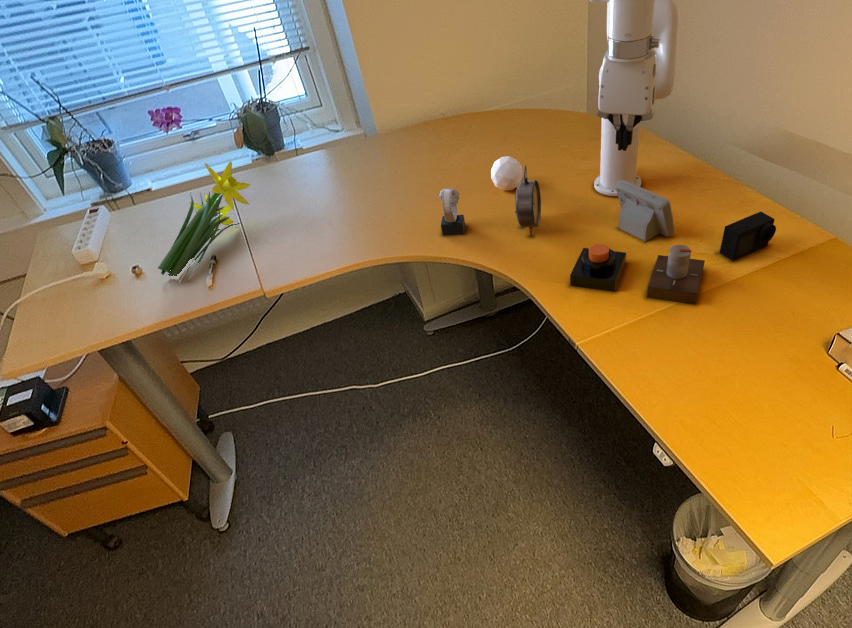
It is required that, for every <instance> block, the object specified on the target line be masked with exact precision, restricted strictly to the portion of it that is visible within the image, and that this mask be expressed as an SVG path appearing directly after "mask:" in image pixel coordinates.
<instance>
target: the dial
mask: <svg viewBox="0 0 852 628" xmlns="http://www.w3.org/2000/svg"><path fill="white" fill-rule="evenodd" d="M667 256H668V263H667V270H666V274H667V275H668V276H669V277H670V278H673V279H682V278H684V277H686V276H687V274H688V268H689V262H690V259H691V256H692V249H691V248H690V247H689V246H687V245H683V244H676V245H673V246H671V247H669V249H668V254H667Z"/></svg>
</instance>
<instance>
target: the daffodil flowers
mask: <svg viewBox="0 0 852 628" xmlns="http://www.w3.org/2000/svg"><path fill="white" fill-rule="evenodd" d="M204 166H205V168H206V170H207V171H208V173H209V175H210V177H211V178H212V179H213V181H214V182H215V185H213V186H212V188H211V191H209V192H208V193H205V204H204V200H203V197H202V193H201V192H199V195H200V198H201V199H200V200H201V204H198V203H194V198H193V194H192V192H190V191H189V193H190V200H191V201H190V202H188V204H189V205H190V206H189V208H188V209H189V210H188V212H187V215H186V217H185V219H184V221H183V224H182V226H181V228H180V230H179V232H178V234H177V237H176V238H175V239H174V241H173V244H172V246H171V247H170V249H169V251H168V252H167V253H166V255H165V257H163V259H162V260H161V262H160V264H159V265H158V266H157V269H158V270H161V271H160V274H161V275H162V276H164V275H165V274H166V273H167V274H168V273H169V274H168V275H169V276H173V275H174V276H177V274H179V273H180V272H181V271H182V269H183V268H184V267H185V266H186V264H187V263H188V261H189V260H190V259H192V258H194V259H193V260H196V259H197V258H198V259H197V260H198V261H197V260H196V261H197V263H199V262H200V263H201V261H202V260H201V259H203V258H204V255H205V254H206V252H207V250H208V248H209V246H210V245H211V244H212V243H213V241H215V239H216V238H218V237H219V236H220V235H221V234H222V233H223V232H224V231H225V230H227V229H229V228H231V227H230V226H233V225H240V224H241V222H235V221H234V220H233V219H232V218H230V216H227V215H228V214H229V213H230V212H231V210H232V211H234V209H235V207H234V200H235V201H236V202H238V203H240V204H243V205H244V204H245V205H247V206H248V205H250V203H249V202H248V200H246V198H244V196H242V195H241V193H240V191H243V190H245V189H247V188H249V187H250V186H251V184H250V183H247V182H241V181H238V180H236V178H235V177H234V176H233V163H232V161H231V160H230V161H229V162H228V164H227V165H226V166H225V168H224V170H223V172H222V174H221V176H220V175H219V174H218V172H216V171H215V170H214V169H212V168H211V167H210V165H208V163H206V162H204ZM211 193H212V195H211ZM223 199H224V202H225V203H226V205H224V206H221V207H220V204H221V202H222V200H223ZM233 199H234V200H233ZM194 210H196V211H195V214H194V216H193V217H192V214H193V212H194ZM191 217H192V219H191ZM233 222H235V224H231V223H233ZM221 224H222V225H224V227H223V228H219V227H220V225H221ZM229 224H231V225H229ZM227 225H228V226H227ZM214 229H215V230H214ZM216 232H217V233H216ZM215 234H216V235H215ZM210 238H211V239H210ZM200 263H199V264H200ZM170 270H171V271H170Z"/></svg>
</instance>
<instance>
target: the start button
mask: <svg viewBox="0 0 852 628" xmlns="http://www.w3.org/2000/svg"><path fill="white" fill-rule="evenodd" d="M588 248H589V260H590V261H592V262H598V263H599V262H605V261H607V260H608V259H609V249H610V247H609V246H608V245H607V244H603V243H596V244H592V245H590V247H588Z"/></svg>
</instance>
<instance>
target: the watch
mask: <svg viewBox="0 0 852 628" xmlns="http://www.w3.org/2000/svg"><path fill="white" fill-rule="evenodd" d="M438 199H440V200H441V201H442V209H443V215H442V217H441V220H440V229H441V233H442V236H443V237H444V236H459V235H460V236H461V235H465V230H466V221H465V220H466V219H465V214H458V205H459V199H460V191H459V190H457V189H456V188H452V187H445V188H443V189H441V190H440V192H439V194H438Z"/></svg>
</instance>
